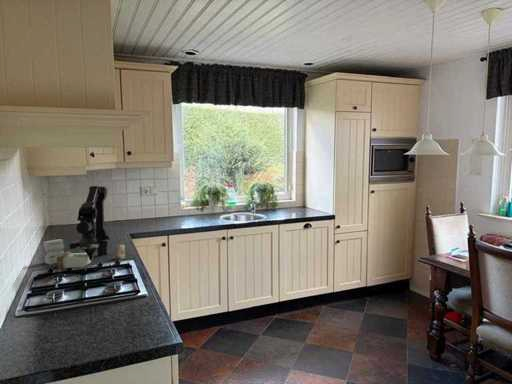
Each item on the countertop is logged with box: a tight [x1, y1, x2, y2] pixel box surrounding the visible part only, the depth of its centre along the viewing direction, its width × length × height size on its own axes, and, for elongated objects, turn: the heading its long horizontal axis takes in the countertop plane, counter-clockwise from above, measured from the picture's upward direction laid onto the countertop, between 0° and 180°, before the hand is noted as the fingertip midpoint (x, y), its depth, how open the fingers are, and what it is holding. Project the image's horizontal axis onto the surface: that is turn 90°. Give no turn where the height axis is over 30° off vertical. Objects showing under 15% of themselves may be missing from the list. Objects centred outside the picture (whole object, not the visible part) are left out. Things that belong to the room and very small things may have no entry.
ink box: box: [43, 238, 65, 265], centre depth 207 cm, size 9×5×12 cm, turn 141°
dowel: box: [117, 244, 126, 260], centre depth 208 cm, size 4×4×8 cm
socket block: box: [62, 252, 92, 269], centre depth 195 cm, size 10×10×5 cm
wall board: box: [56, 250, 73, 270], centre depth 196 cm, size 13×32×7 cm, turn 94°
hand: (91, 260), depth 195 cm, fingers closed
